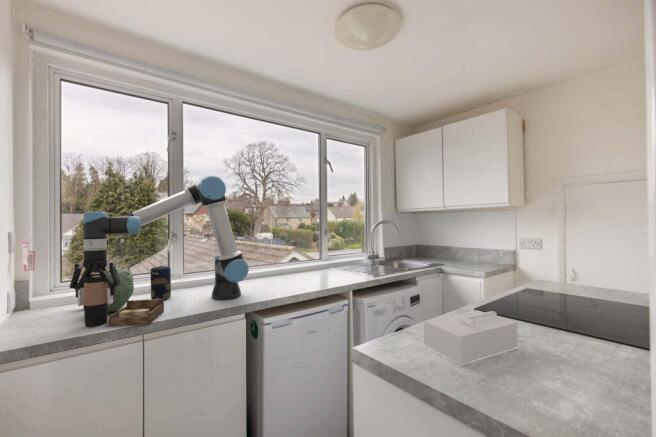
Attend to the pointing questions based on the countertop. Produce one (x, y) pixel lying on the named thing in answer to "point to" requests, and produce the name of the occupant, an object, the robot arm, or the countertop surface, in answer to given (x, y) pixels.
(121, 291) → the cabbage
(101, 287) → the travel mug
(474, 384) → the countertop surface
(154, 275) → the canister
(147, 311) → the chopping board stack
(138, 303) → the wooden tray
